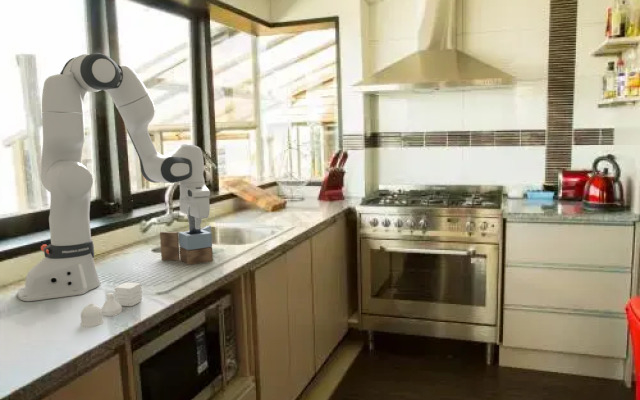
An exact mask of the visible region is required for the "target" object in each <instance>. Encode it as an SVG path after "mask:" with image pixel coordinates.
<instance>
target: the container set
mask: <svg viewBox="0 0 640 400" xmlns="http://www.w3.org/2000/svg"><path fill="white" fill-rule="evenodd" d="M142 301H143V292H142V284H141V283H138V282H124V283H121V284H119V285H117V286H115V287H114V293H113V292H108V293H107V294H106V301H105V302H104V303H103V306H102V307H101V306H99V305H98V304H94V303H93V302H90V303H88V304H87V305H86V306H84V307H83V309H81V312H80V321H81V323H80V326H81V327H82V328H92V327H98V326H100V325H103V324H104V322H105V321H104V317H113V316H118V315H120V314H122V313H123V310H122V308H123V307H133V306H135V305H137V304H138V303H141V302H142Z"/></svg>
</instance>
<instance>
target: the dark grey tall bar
mask: <svg viewBox="0 0 640 400" xmlns="http://www.w3.org/2000/svg"><path fill="white" fill-rule="evenodd" d="M188 215H189V222H188V226H189V227H188V229H189V230H188V231H189V232H190V235H193V234H200V233H201V229H202V227H201V228H200V229H195V228H194V224H195V217H193V216H191V215H190V207H188ZM200 226H201V224H200Z"/></svg>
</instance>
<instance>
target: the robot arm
mask: <svg viewBox="0 0 640 400" xmlns="http://www.w3.org/2000/svg"><path fill="white" fill-rule="evenodd" d="M99 91H104V92H106V93H107V94H108V95H109V96H110V98H111V99H112V102H113V103H114V105H115V107H116V109H117V111H118V113H119V115H120V116H121V118H122V121H123V123H124V126H125V129H126V132H127V134H128V137H129V139H130V141H131V143H132V145H133V147H134V150H135V152H136V154H137V157H138V158H139V159H138V160H139V165H140V172H141V174H142V176H143V178H144V179H145V180H146V181H148V182H150V183H155V184H156V183H157V184H158V183H162V184H163V183H164V184H175V183H179V211H180V213H182V214H184V215H186V218H187V221H188V223H189V215H188V207H190V215H191V216H193V217H195V224H194V228H195V229H200V228H201V229H202V227H201V226H200V225H201V224H202V220H204V219H209V216H210V209H211V208H210V207H211V205H210V198H209V197H210V196H211V190H210V189H209V188H208V187H207V186H206V182H205V177H204V171H205V162H204V155H203V151H202V148H201V147H199V146H197V145H194V144H180V145H178V148H176V149H175V150H173V151H172V152H169V153H168V154H161V153H160V152H158V151H157V150H156V147H155V145H154V142H153V139H152V138H151V136H150V133H149V128H148V127H149V124H150V123H152V121H153V120H154V117H155V113H156V108H155V104H154V101H153V98H152V97H151V95H150V93H149V92H148V89H147V88H146V86H145V83H143V81H142V79H141V78H140V77H139V75H138V74H137V73H136V71H135V69H133V67H132V66H129V65H126V64H121V65H120V64H118V63H117V62H116V61H114V59H112V58H111V57H110V56H108V55H106V54H104V53H100V52H92V53H86V54H83V53H82V54H81V55H78V56H75V57H73V58H70V59H69V60H68V61H67V62H66V63H65V64H64V66H63V68H62V70H61V72H60V73H58V74H53V75H51V76H48V77H47V78H46V79H45V80H44V83H43V88H42V95H41V120H42V123H41V124H42V151H41V167H40V168H41V169H40V171H41V172H40V180H41V184H42V186H43V187H44V189H45V190H46V191H48V192H49V193H50V206H49V207H50V208H49V215H48V223H49V235H50V243H49V244H48V245H47V244H42V245H41V246H40V250H41V251H42V252H43V254H44V257H43V258H42V260H40V261H39V262H38V263H36V264H35V265H34V266H33V267H32V268H31V269H29V271H28V272H27V273H26V277H25V283H24V284H25V285H24V286H23V287H20V288H19V289H18V290H17V298H18V299H20V301H24V302H34V301H42V300H49V299H57V298H65V297H71V296H80V295H84V294H86V293H87V292H89V291H92V290H93V289H96V288H98V287H99V286H100V285H101V281H100V278H99V276H98V273H97V269H96V265H95V264H96V263H95V259H94V258H95V246H94V245H95V244H94V240H93V239H92V234H91V233H92V231H91V220H90V218H91V217H90V211H91V200H92V199H91V198H92V187H93V183H94V180H93V179H94V178H93V175H92V173H91V171H90V170H89V169H88V167H86V166H85V165H84V164H83V163H82V154H83V146H84V143H85V139H86V138H85V137H86V136H85V120H84V119H85V114H84V104H83V103H84V99H85V96H86V94H87V93H90V92H91V93H95V92H99Z"/></svg>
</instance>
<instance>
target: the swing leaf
mask: <svg viewBox="0 0 640 400" xmlns="http://www.w3.org/2000/svg"><path fill="white" fill-rule="evenodd" d="M212 236H213V235H212V227H211V225H207V226H205V227H203V228H202V227H201V233H200V234H193V235H190V232H189V230H186V231H178V238H179V247H180V246H181V247H183V248H185V249H187V250H193V249H200V248H206V247H212V248H213V239H212Z"/></svg>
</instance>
